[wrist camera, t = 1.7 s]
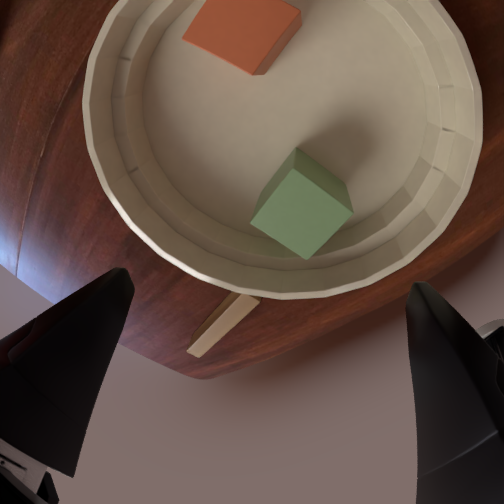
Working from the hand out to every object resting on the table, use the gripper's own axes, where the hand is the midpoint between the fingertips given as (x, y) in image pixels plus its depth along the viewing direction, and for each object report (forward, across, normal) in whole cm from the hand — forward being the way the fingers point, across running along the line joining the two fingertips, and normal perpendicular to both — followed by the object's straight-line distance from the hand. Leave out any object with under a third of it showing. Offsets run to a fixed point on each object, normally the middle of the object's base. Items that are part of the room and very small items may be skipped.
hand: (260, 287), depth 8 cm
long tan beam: (+12, +6, +15) cm, 20 cm away
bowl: (+12, 0, -3) cm, 12 cm away
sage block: (+11, -1, +2) cm, 11 cm away
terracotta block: (+11, +2, -8) cm, 14 cm away
